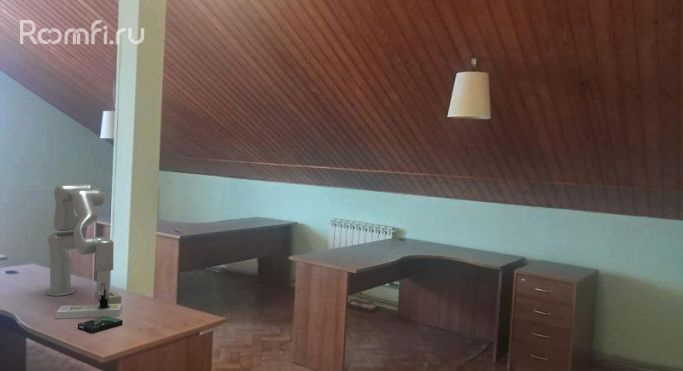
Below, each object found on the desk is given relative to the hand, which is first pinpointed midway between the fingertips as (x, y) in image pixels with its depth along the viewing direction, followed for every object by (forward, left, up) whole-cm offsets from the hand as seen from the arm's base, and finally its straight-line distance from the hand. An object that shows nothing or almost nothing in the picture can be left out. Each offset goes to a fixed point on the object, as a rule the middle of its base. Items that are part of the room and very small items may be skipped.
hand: (104, 305), depth 262 cm
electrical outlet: (-24, -1, -4) cm, 24 cm away
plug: (0, 0, -2) cm, 2 cm away
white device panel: (0, -6, -4) cm, 7 cm away
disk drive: (+19, +1, -4) cm, 20 cm away
